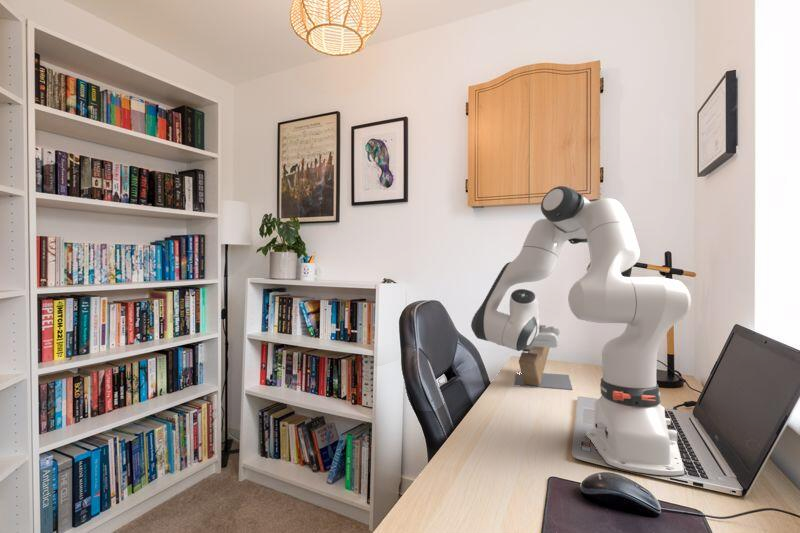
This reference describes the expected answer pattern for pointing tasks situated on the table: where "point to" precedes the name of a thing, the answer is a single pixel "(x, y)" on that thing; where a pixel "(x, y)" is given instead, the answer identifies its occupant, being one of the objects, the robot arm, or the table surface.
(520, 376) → the felt pad
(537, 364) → the decorative block
